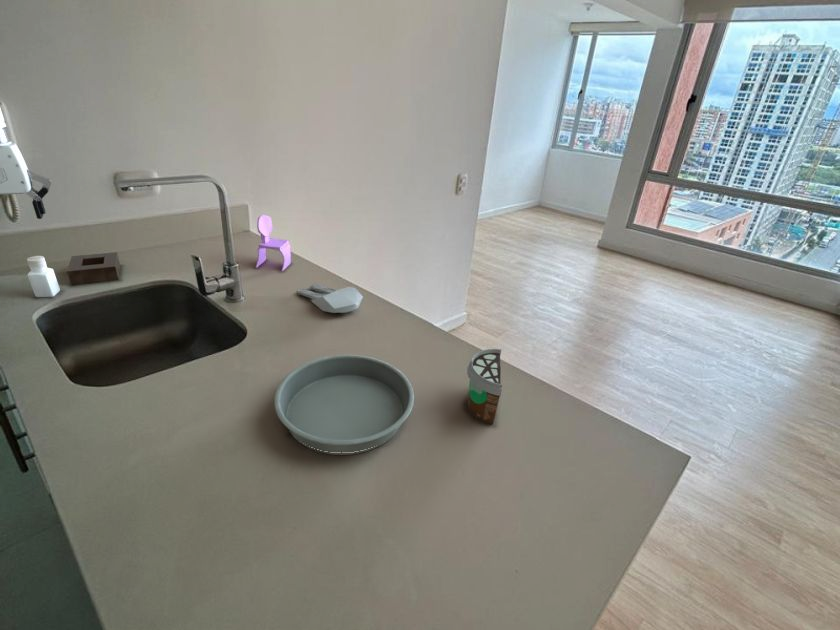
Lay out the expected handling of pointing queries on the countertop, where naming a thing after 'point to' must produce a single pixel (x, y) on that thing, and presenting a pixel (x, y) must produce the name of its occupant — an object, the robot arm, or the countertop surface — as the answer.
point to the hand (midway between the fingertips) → (13, 218)
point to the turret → (334, 298)
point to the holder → (94, 268)
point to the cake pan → (344, 403)
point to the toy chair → (271, 242)
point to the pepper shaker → (42, 277)
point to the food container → (484, 384)
